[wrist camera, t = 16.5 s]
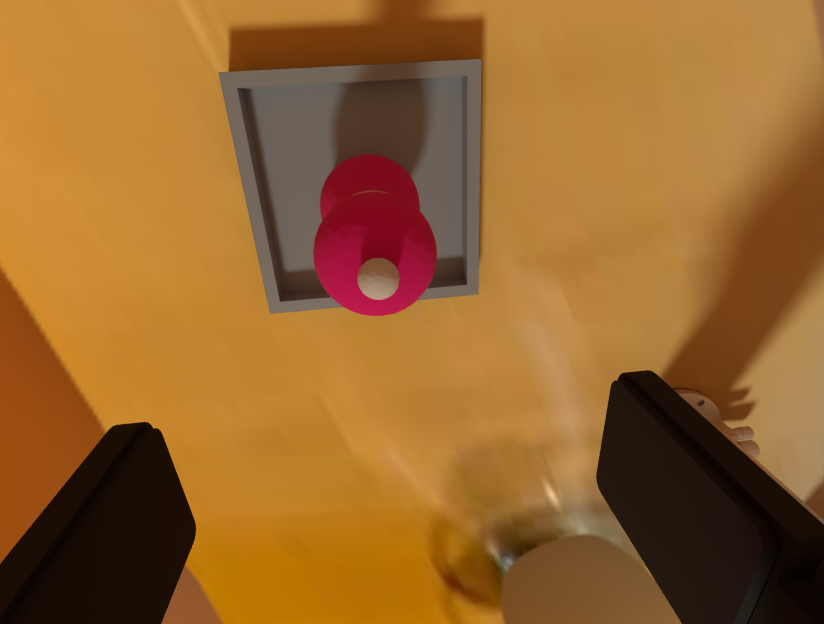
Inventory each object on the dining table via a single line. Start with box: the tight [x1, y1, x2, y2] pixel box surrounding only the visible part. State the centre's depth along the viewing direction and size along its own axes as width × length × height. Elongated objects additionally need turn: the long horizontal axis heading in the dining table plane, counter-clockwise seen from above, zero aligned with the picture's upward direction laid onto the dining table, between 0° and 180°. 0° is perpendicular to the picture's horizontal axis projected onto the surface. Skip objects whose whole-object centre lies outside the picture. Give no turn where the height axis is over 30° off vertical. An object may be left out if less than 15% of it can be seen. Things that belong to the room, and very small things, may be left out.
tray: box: [218, 59, 482, 314], centre depth 35 cm, size 18×18×2 cm
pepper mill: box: [313, 154, 437, 316], centre depth 27 cm, size 7×7×20 cm
